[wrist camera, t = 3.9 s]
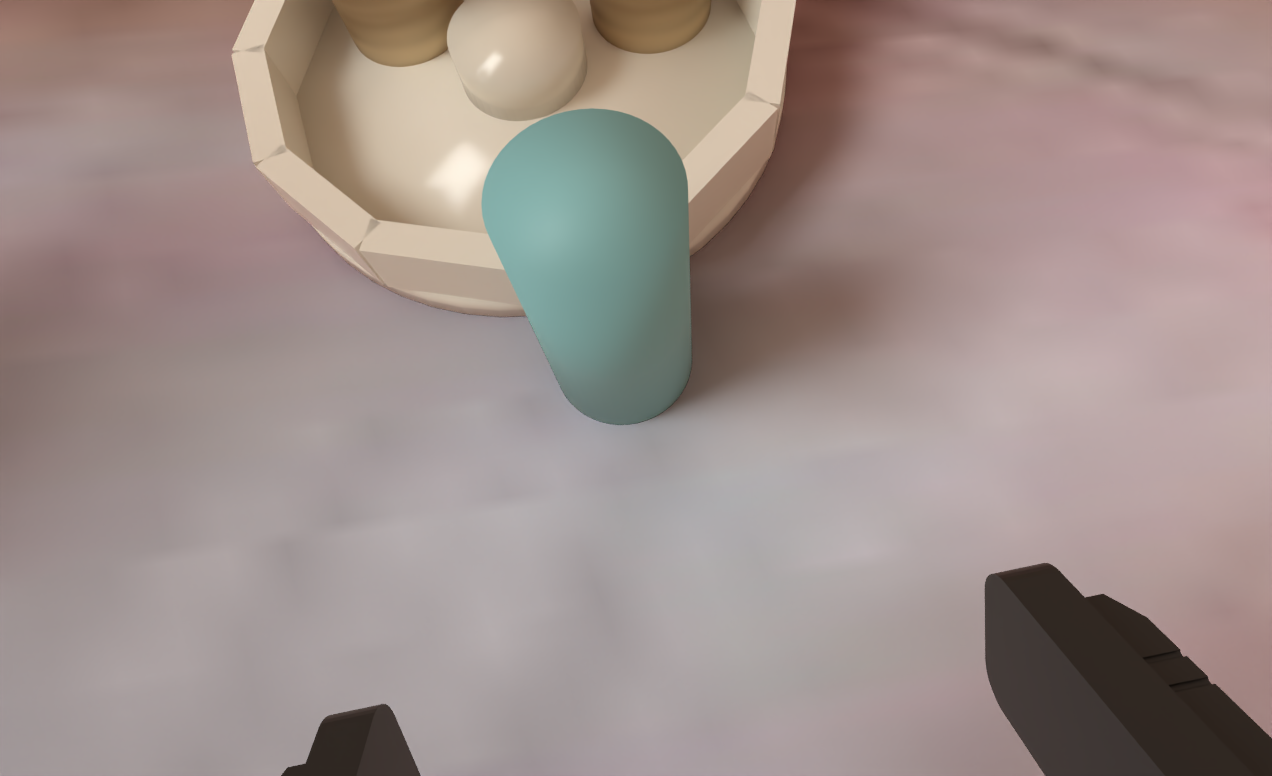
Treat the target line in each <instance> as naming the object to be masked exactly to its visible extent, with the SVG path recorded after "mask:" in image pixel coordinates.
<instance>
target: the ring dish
mask: <svg viewBox="0 0 1272 776" xmlns="http://www.w3.org/2000/svg"><path fill="white" fill-rule="evenodd" d="M795 6H796V0H711V10H710V15H709V18H708V20H707V22H706V24H705V26H704V27H703V29H702V30H701V31H700V32H699V33H698V35H696V36H695V37H694V38H693V39H692V40H690V41H689V42H687V43H686V44H684V45H682V46H680V47H678V48H675V49H673V50H670V51H666V52H661V53H655V54H639V53H632V52H629V51H625V50H622V49H620V48H617V47H616V46H614V45H612V44H610V43H609V42H608V41H606V40H605V39H604V38H603V37H602V36H601V35H600V33H599V32H598V31H597V29H596V27H595V25H594V22H593V18H592V12H591V6H590V0H464V2H463V3H462V4H461V5H460V6H459V8H458V9H457V10H456V12H455V13H454V15H453V17H452V19H451V21H450V23H449V27H448V30H447V46H448V50H446V51H445V52H444V53H442V54H441V55H439V56H438V57H436V58H434V59H432V60H430V61H427V62H424V63H421V64H418V65H414V66H408V67H391V66H385V65H381V64H378V63H376V62H373V61H372V60H370V59H368V58H367V57H365V56H364V55H363V54H362V53H361V52H360V51H359V49H358V48H357V46H356V44H355V43H354V41H353V39H352V37H351V35H350V33H349V32H348V30H347V28H346V26H345V24H344V22H343V20H342V19H341V17H340V15H339V13H338V11H337V9H336V8H335V6H334V4H333V2H332V0H255V1H254V3H253V5H252V8H251V10H250V12H249V14H248V16H247V19H246V21H245V23H244V25H243V27H242V29H241V32H240V34H239V36H238V38H237V40H236V42H235V45H234V47H233V49H232V50H233V52H234V54H232V59H233V64H234V69H235V74H236V79H237V84H238V89H239V94H240V99H241V104H242V109H243V114H244V119H245V124H246V129H247V134H248V140H249V145H250V150H251V155H252V160H253V163H254V164H255V166H256V168H257V169H258V170H259V171H260V173H261V174H262V175H263V176H264V177H265V178H266V180H267V181H268V182H269V183H270V184H271V185H272V186H273V188H274V189H275V190H276V191H277V192H278V193H279V195H280V196H281V197H282V198H283V199H284V200H285V201H286V203H287V204H288V205H289V206H290V207H291V208H292V209H293V210H294V211H295V212H297V213H298V214H299V215H300V216H301V217H303V218H304V219H305V220H306V221H307V222H309V223H310V224H311V225H312V226H313V227H314V229H315V230H316V231H317V232H318V233H319V234H320V236H321V237H322V238H323V239H324V240H325V241H326V243H327V244H328V245H329V246H330V247H331V248H332V249H333V250H334V251H335V252H336V253H337V254H339V255H340V256H341V257H342V258H343V259H344V260H345V261H346V262H347V263H348V264H349V265H350V266H352V267H353V268H355V269H356V270H357V271H359V272H360V273H362V274H363V275H364V276H366V277H367V278H369V279H370V280H371V281H373V282H375V283H377V284H379V285H381V286H383V287H384V288H386V289H388V290H390V291H392V292H394V293H396V294H398V295H400V296H402V297H405V298H408V299H411V300H414V301H417V302H420V303H422V304H425V305H428V306H431V307H435V308H440V309H445V310H449V311H454V312H459V313H464V314H472V315H485V316H498V317H509V316H526V313H525V311H524V309H523V307H522V305H521V303H520V301H519V299H518V297H517V294H516V292H515V290H514V288H513V286H512V284H511V282H510V280H509V278H508V275H507V273H506V271H505V269H504V267H503V265H502V263H501V261H500V259H499V257H498V254H497V252H496V250H495V248H494V246H493V244H492V242H491V240H490V238H489V235H488V233H487V230H486V228H485V225H484V221H483V216H482V206H481V202H482V191H483V187H484V182H485V179H486V176H487V174H488V171H489V169H490V167H491V165H492V163H493V162H494V160H495V158H496V157H497V156H498V154H499V153H500V151H501V150H502V149H503V148H504V147H505V146H506V145H507V144H508V142H509V141H510V140H512V139H513V138H514V137H515V136H516V135H517V134H519V133H520V132H521V131H523V130H524V129H526V128H527V127H529V126H530V125H532V124H534V123H536V122H538V121H540V120H542V119H544V118H547V117H549V116H552V115H555V114H558V113H562V112H566V111H571V110H577V109H590V108H594V109H608V110H614V111H619V112H623V113H626V114H630V115H632V116H634V117H637V118H639V119H641V120H643V121H645V122H647V123H649V124H650V125H652V126H653V127H655V128H656V129H657V130H659V131H660V132H661V133H662V134H663V135H664V136H665V137H666V138H667V139H668V140H669V141H670V142H671V144H672V145H673V146H674V147H675V149H676V150H677V152H678V154H679V156H680V158H681V159H682V162H683V165H684V168H685V170H686V175H687V180H688V208H689V253H690V256H692V255H693V254H694V253H696V252H697V251H698V250H700V249H701V248H702V247H704V246H705V245H706V244H707V243H708V242H709V241H710V240H711V239H712V238H713V237H714V236H715V235H716V234H717V233H718V232H719V231H720V230H721V229H723V228H724V227H725V226H726V225H727V224H728V223H729V221H730V220H731V219H732V218H733V216H734V215H735V214H736V213H737V211H738V210H739V209H740V208H741V206H742V205H743V204H744V203H745V201H746V200H747V199H748V197H749V196H750V194H751V192H752V191H753V189H754V187H755V186H756V184H757V182H758V181H759V179H760V177H761V175H762V174H763V172H764V170H765V168H766V165H767V163H768V160H769V158H770V156H771V154H772V151H774V145H775V142H776V138H777V134H778V130H779V125H780V121H781V117H782V111H783V104H784V97H785V86H786V71H787V60H788V53H789V47H790V40H791V33H792V27H793V20H794V13H795Z"/></svg>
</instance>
